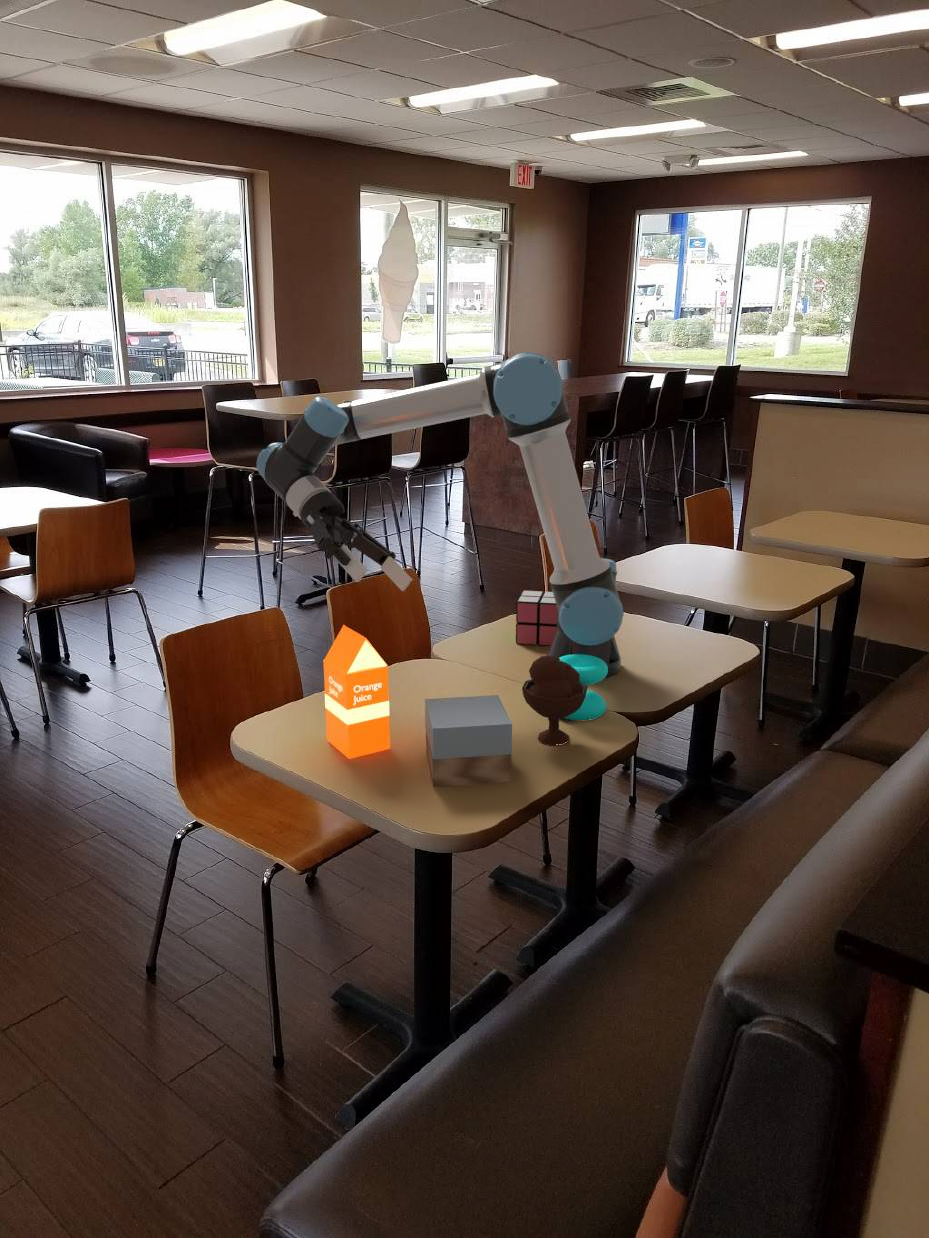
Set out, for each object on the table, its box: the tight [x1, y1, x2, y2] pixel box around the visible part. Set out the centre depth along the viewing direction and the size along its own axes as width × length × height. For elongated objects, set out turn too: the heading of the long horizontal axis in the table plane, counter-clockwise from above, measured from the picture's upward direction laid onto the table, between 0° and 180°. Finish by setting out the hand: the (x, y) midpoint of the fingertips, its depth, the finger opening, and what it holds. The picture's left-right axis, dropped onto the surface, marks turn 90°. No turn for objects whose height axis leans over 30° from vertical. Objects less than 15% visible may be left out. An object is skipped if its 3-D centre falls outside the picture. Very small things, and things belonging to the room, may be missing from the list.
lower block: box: [425, 732, 512, 787], centre depth 147 cm, size 12×12×5 cm
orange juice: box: [323, 624, 391, 760], centre depth 154 cm, size 8×9×20 cm
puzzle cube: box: [515, 590, 557, 647], centre depth 210 cm, size 10×10×10 cm
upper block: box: [424, 694, 513, 759], centre depth 146 cm, size 12×12×5 cm
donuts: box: [559, 654, 608, 721], centre depth 168 cm, size 10×10×10 cm
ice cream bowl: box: [521, 654, 589, 746], centre depth 156 cm, size 11×11×15 cm
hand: (385, 580), depth 160 cm, fingers open, 13 cm apart
